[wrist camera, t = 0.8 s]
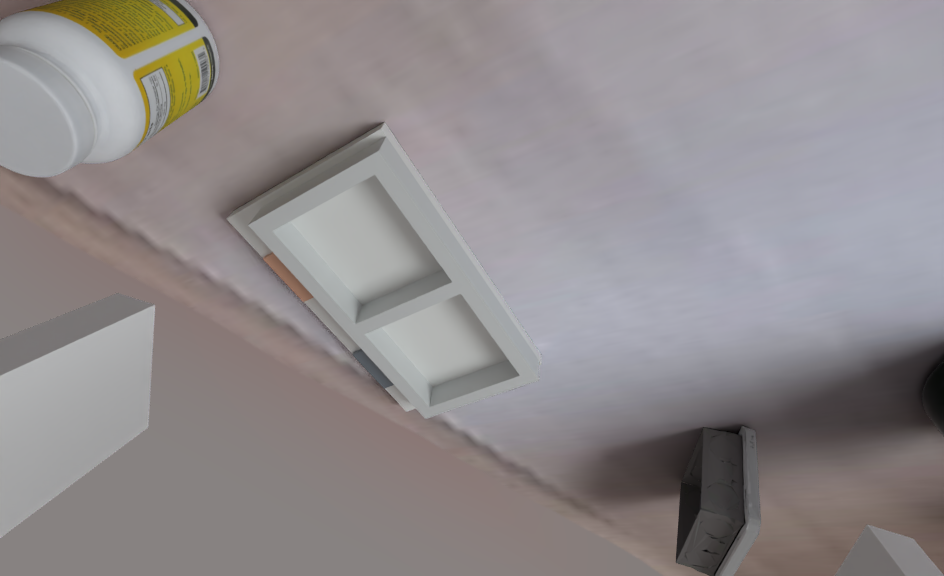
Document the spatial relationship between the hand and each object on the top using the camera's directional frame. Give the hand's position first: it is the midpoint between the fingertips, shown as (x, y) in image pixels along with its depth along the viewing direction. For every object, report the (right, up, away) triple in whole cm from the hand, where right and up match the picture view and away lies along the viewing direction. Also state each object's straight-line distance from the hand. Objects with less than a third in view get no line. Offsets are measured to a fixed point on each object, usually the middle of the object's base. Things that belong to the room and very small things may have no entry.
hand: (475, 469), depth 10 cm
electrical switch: (+20, -11, +36) cm, 43 cm away
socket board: (-5, +3, +27) cm, 28 cm away
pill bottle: (-16, +16, +19) cm, 30 cm away
